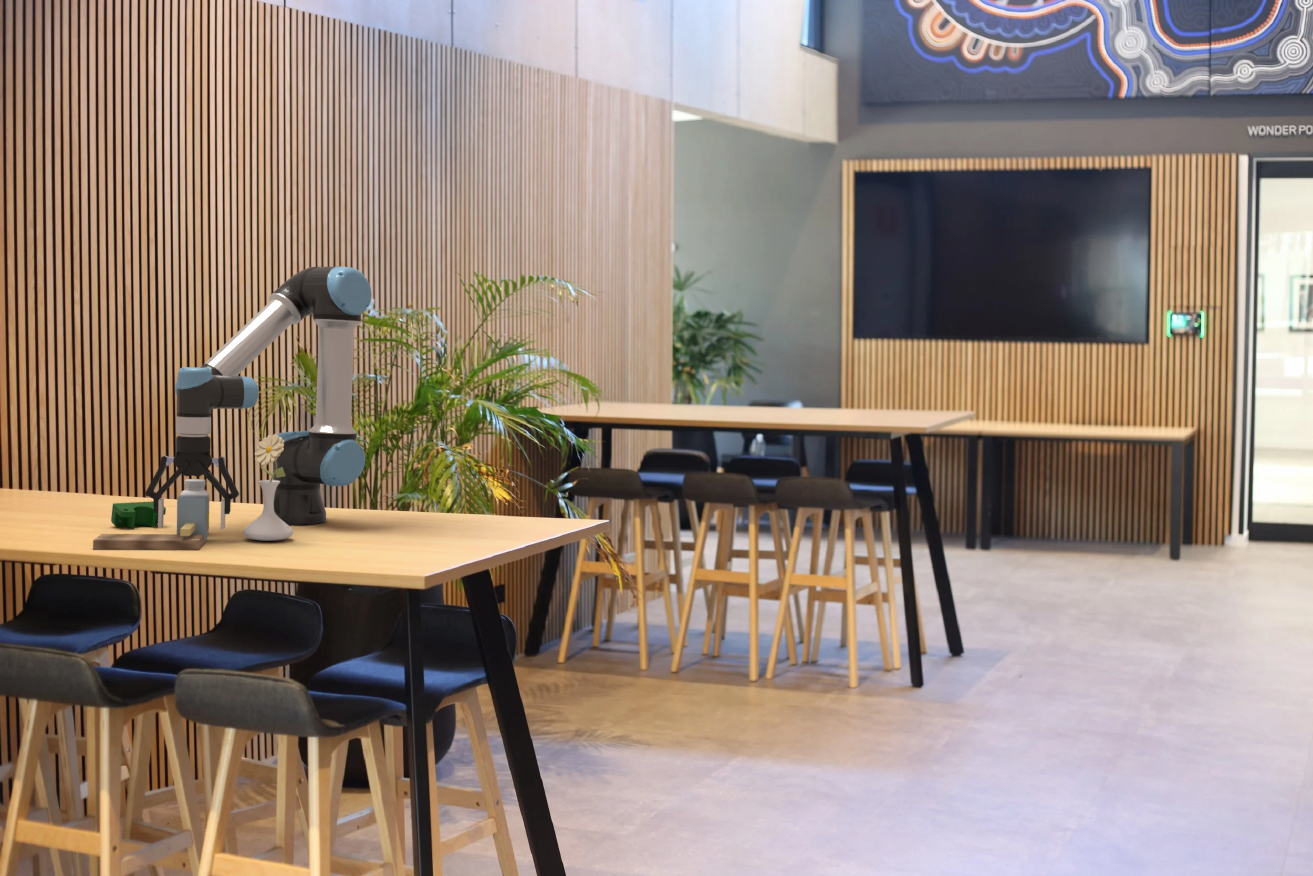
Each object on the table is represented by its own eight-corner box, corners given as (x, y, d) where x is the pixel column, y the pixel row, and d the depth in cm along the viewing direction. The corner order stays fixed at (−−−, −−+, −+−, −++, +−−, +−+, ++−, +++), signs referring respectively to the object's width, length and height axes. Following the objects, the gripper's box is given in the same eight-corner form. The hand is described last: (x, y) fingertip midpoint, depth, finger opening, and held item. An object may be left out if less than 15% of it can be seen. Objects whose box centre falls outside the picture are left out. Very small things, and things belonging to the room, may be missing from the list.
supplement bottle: (178, 536, 337) (179, 481, 336) (179, 532, 344) (180, 478, 343) (208, 536, 339) (209, 481, 338) (209, 532, 345) (210, 478, 344)
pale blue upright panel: (207, 538, 334) (207, 495, 333) (199, 548, 318) (199, 503, 318) (180, 538, 332) (180, 495, 332) (170, 548, 317) (171, 503, 316)
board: (204, 543, 327) (204, 534, 327) (198, 550, 318) (198, 540, 317) (101, 542, 323) (101, 533, 323) (93, 549, 313) (93, 539, 313)
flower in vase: (235, 538, 337) (236, 431, 335) (281, 535, 344) (283, 430, 342) (256, 546, 326) (258, 435, 325) (304, 543, 333) (306, 434, 331)
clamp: (126, 547, 347) (114, 515, 342) (117, 537, 351) (105, 506, 346) (173, 525, 353) (162, 494, 348) (163, 517, 357) (153, 486, 352)
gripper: (251, 435, 334) (249, 526, 336) (138, 432, 330) (137, 525, 331) (248, 437, 327) (246, 530, 328) (133, 435, 322) (131, 529, 324)
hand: (191, 528), depth 330 cm, fingers open, 13 cm apart
